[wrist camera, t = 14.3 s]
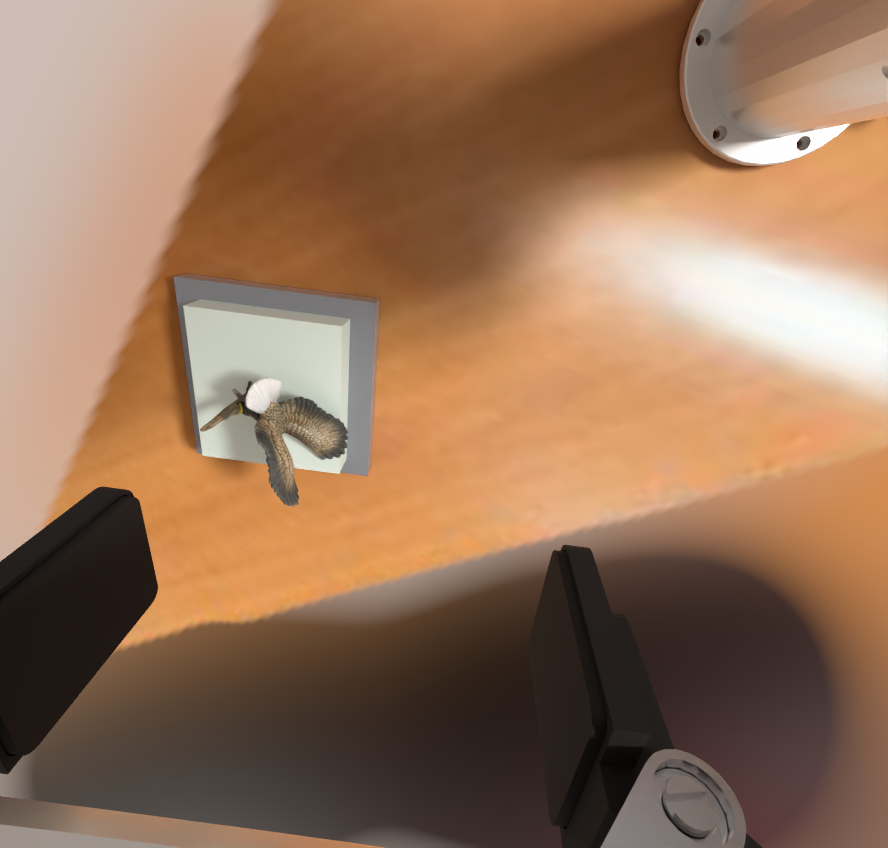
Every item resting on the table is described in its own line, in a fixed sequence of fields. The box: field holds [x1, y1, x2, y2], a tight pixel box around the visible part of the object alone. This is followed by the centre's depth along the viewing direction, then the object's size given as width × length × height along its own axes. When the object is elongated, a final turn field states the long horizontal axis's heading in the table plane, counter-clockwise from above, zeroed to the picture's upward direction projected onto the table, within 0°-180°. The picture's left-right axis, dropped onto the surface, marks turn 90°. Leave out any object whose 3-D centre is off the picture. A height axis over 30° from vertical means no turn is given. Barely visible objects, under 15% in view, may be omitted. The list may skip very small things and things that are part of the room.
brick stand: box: [173, 273, 380, 476], centre depth 40 cm, size 16×16×5 cm
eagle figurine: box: [200, 377, 348, 507], centre depth 36 cm, size 8×7×9 cm
